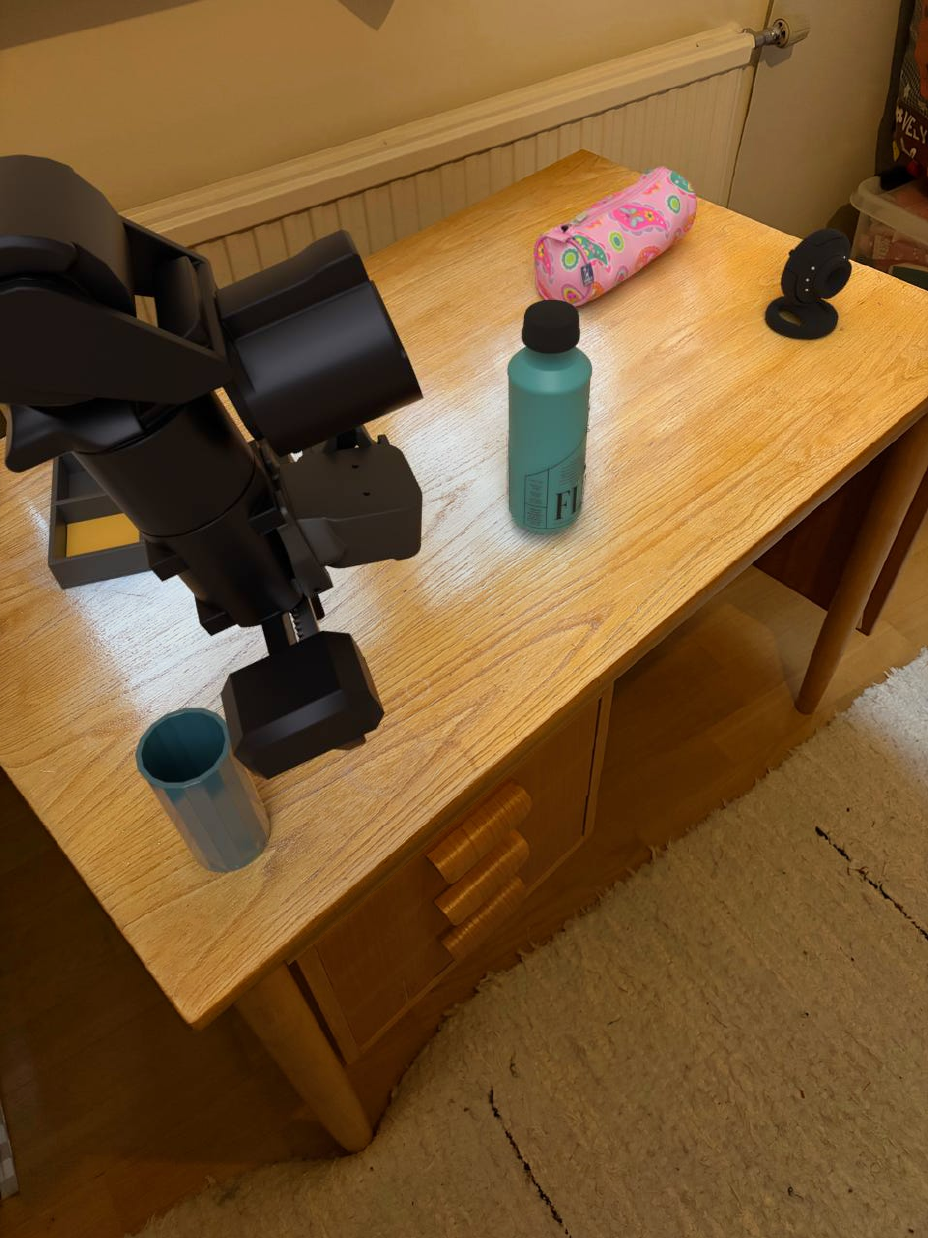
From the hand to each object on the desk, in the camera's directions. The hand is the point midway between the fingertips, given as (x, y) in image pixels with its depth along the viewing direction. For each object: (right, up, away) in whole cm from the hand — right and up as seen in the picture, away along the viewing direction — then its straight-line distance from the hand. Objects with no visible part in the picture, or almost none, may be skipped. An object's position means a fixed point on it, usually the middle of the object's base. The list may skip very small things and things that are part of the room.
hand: (335, 677), depth 48 cm
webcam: (+43, +35, +46) cm, 72 cm away
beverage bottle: (+14, +12, +28) cm, 33 cm away
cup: (-8, -11, +10) cm, 17 cm away
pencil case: (+24, +43, +54) cm, 73 cm away
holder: (-25, +12, +30) cm, 40 cm away
